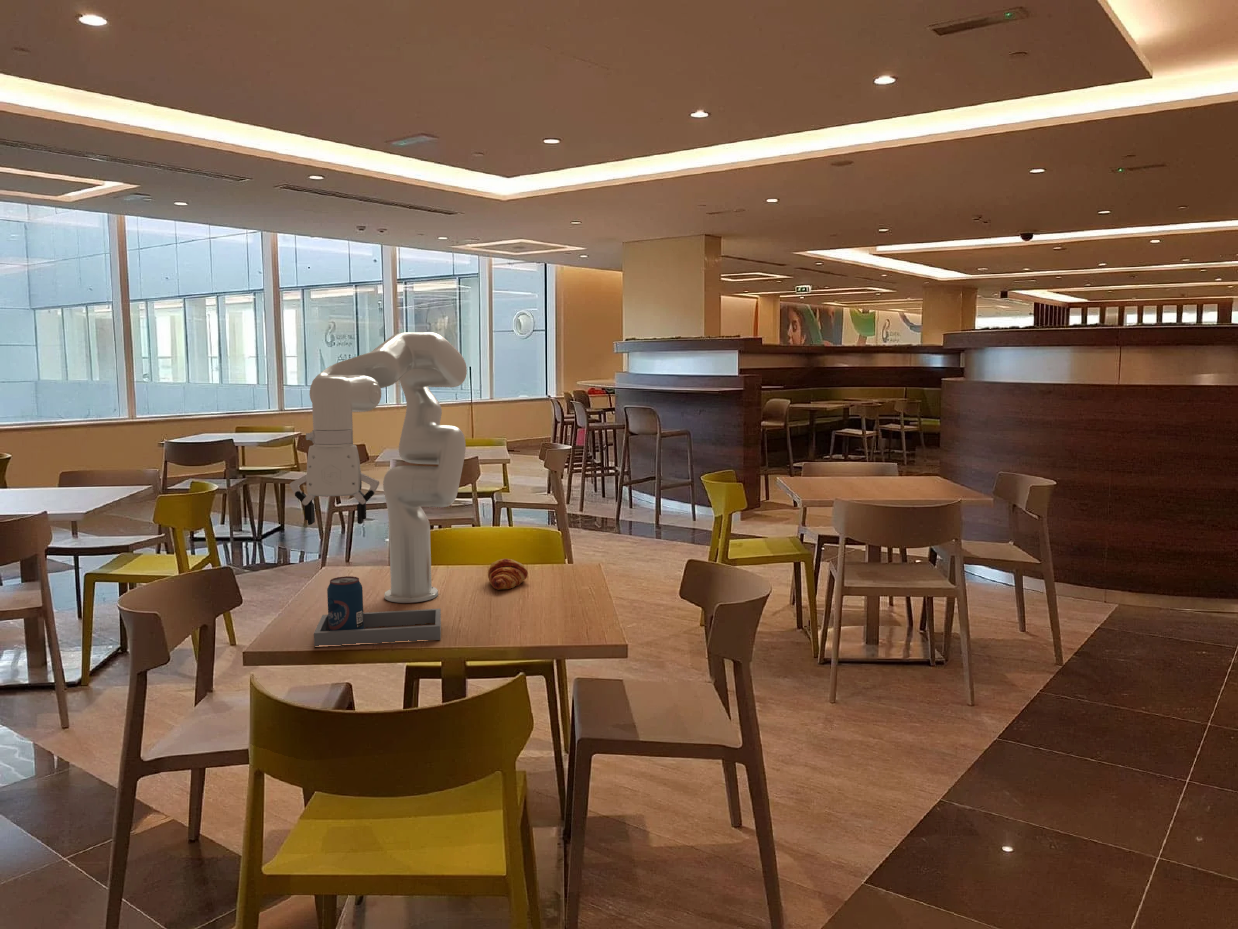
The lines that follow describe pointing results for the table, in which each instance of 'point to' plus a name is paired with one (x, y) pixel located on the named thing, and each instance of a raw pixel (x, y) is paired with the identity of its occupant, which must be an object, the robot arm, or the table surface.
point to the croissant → (506, 574)
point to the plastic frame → (384, 633)
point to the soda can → (345, 604)
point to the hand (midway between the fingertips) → (336, 523)
